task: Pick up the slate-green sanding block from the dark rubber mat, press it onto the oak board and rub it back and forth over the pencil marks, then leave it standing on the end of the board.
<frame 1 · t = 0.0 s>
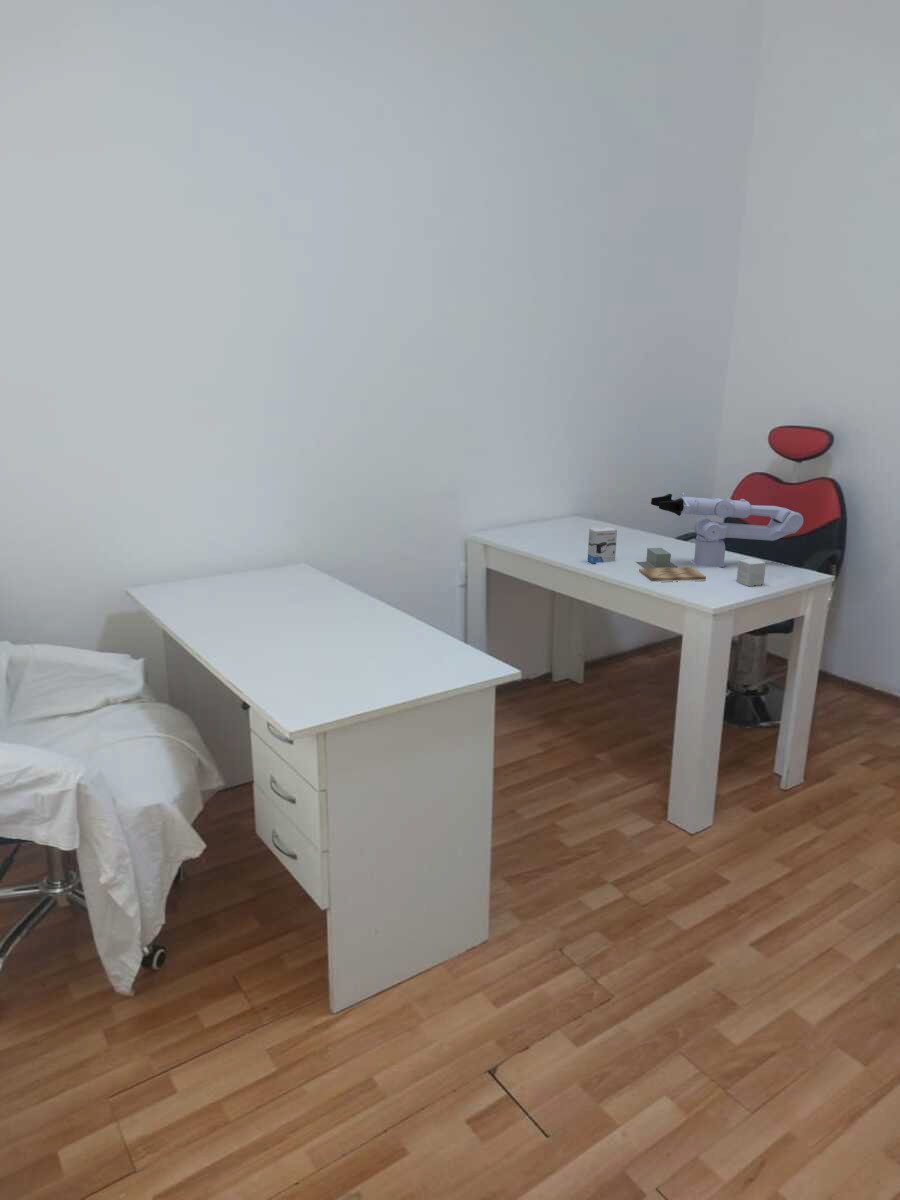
hand: (655, 503, 292), 22 cm above the table, tool horizontal, fingers open, 7 cm apart
rubber mat: (657, 567, 298), on the table
ink box: (601, 562, 305), on the table
product box: (749, 584, 279), on the table
oak board: (671, 577, 286), on the table
sanding block: (657, 565, 298), point 1 cm above the table, touching rubber mat
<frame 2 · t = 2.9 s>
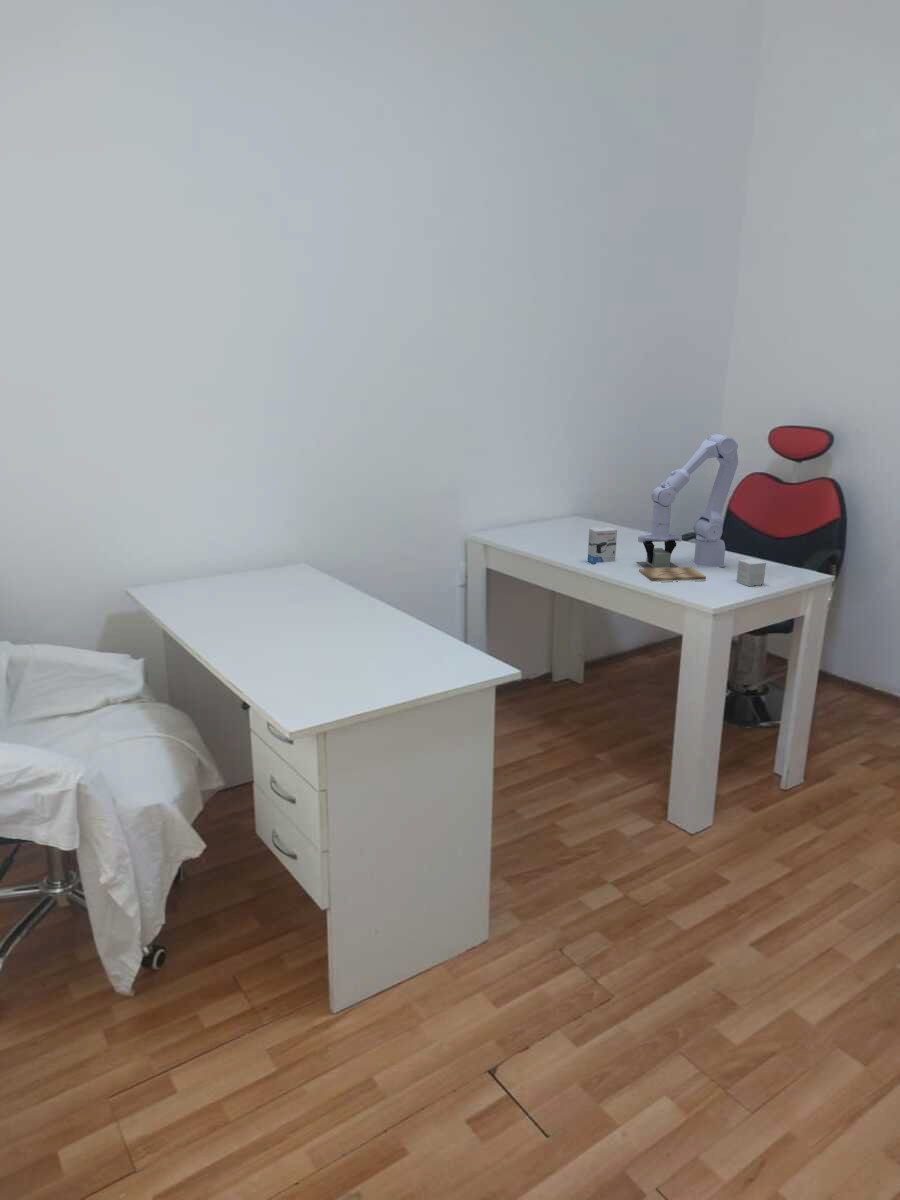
hand: (658, 562, 297), 2 cm above the table, tool pointing down, fingers closed on sanding block, 5 cm apart
sanding block: (657, 565, 298), point 1 cm above the table, touching gripper, rubber mat
everything else where it was.
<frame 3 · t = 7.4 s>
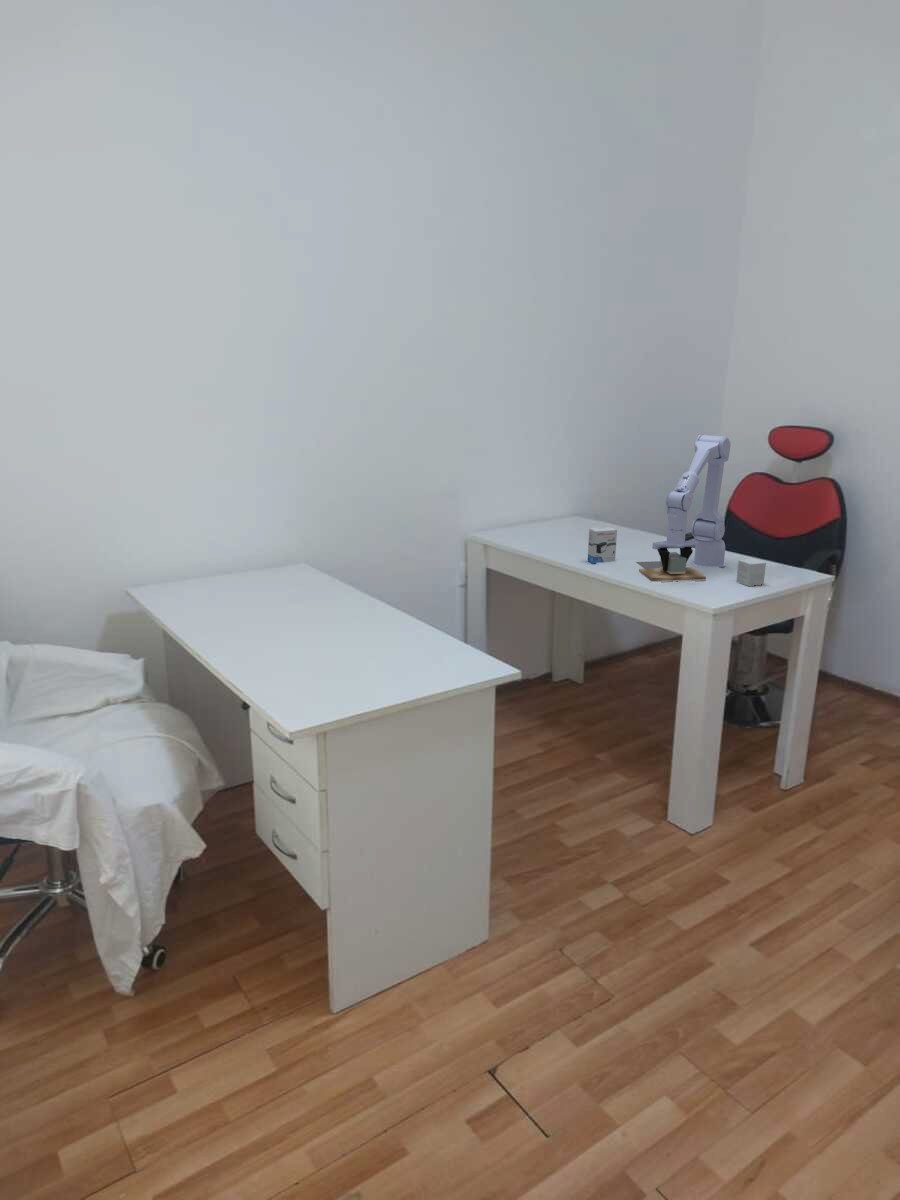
hand: (673, 570, 285), 2 cm above the table, tool pointing down, fingers closed on sanding block, 5 cm apart
sanding block: (672, 570, 286), point 2 cm above the table, touching gripper
everything else where it was.
when the fingers open (2 cm above the table, at t = 12.4 s): sanding block stays where it is, resting on oak board.
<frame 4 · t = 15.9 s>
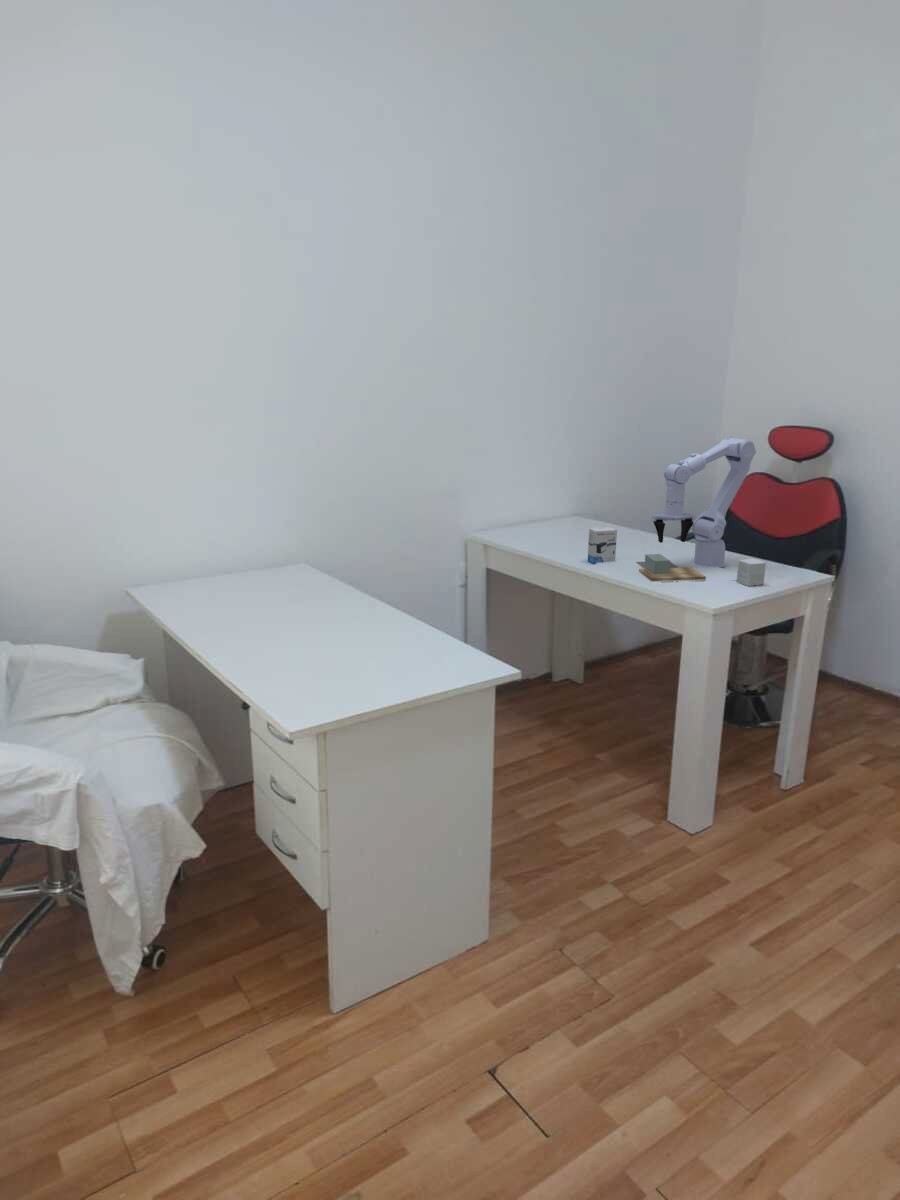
hand: (671, 541, 293), 9 cm above the table, tool pointing down, fingers open, 7 cm apart
sanding block: (656, 572, 285), point 2 cm above the table, touching oak board
everything else where it was.
at the end: sanding block inside the target area on the oak board (0.7 cm from its centre), point 1.5 cm above the oak board's base; sanding block tilted 1°; the gripper is holding nothing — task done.
